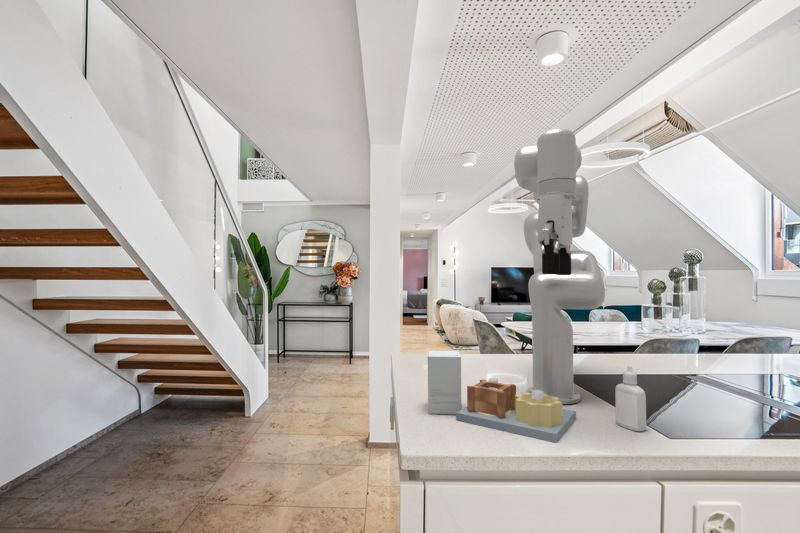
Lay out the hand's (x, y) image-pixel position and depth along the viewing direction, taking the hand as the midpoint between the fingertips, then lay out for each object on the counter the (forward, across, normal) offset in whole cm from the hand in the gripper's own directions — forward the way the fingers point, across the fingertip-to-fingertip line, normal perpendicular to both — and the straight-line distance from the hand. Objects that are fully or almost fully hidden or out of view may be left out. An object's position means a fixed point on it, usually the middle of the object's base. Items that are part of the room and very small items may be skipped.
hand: (557, 274), depth 82 cm
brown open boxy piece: (+29, +4, -13) cm, 32 cm away
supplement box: (+31, +5, -23) cm, 39 cm away
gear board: (+30, +2, -8) cm, 31 cm away
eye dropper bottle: (+31, -7, +12) cm, 34 cm away
